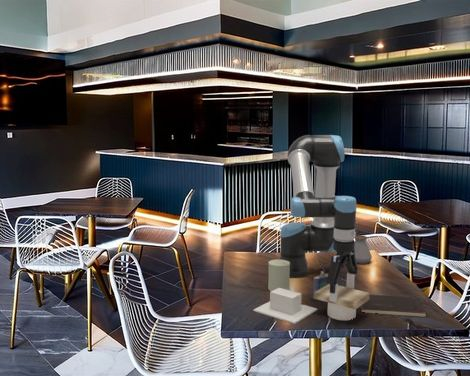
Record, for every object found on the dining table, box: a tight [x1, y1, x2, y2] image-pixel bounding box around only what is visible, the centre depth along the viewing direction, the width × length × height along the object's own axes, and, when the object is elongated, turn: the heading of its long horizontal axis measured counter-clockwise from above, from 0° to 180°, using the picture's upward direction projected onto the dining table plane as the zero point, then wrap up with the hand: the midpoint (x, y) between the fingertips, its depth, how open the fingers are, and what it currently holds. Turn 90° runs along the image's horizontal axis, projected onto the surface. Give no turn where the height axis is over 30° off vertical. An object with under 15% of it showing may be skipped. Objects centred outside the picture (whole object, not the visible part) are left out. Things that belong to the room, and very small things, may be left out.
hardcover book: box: [360, 293, 427, 318], centre depth 181 cm, size 16×23×2 cm
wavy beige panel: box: [314, 284, 371, 310], centre depth 173 cm, size 16×12×2 cm
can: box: [267, 259, 291, 292], centre depth 200 cm, size 9×9×12 cm
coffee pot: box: [354, 234, 373, 265], centre depth 239 cm, size 21×12×15 cm, turn 88°
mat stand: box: [253, 288, 318, 325], centre depth 177 cm, size 18×16×7 cm
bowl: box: [327, 302, 357, 321], centre depth 173 cm, size 10×10×6 cm
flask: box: [312, 270, 329, 301], centre depth 190 cm, size 9×3×11 cm, turn 121°
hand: (341, 295), depth 173 cm, fingers open, 13 cm apart
